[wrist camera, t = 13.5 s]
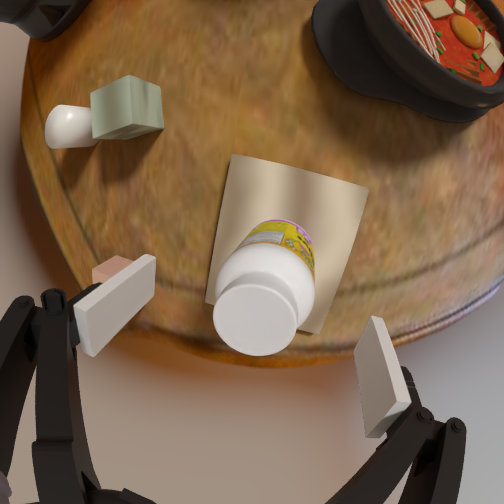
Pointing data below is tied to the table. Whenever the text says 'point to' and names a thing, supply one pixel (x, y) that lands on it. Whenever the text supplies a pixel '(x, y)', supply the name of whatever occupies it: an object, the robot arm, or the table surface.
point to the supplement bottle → (265, 288)
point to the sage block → (126, 109)
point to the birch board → (292, 209)
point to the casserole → (417, 52)
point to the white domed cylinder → (69, 127)
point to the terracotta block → (109, 268)
